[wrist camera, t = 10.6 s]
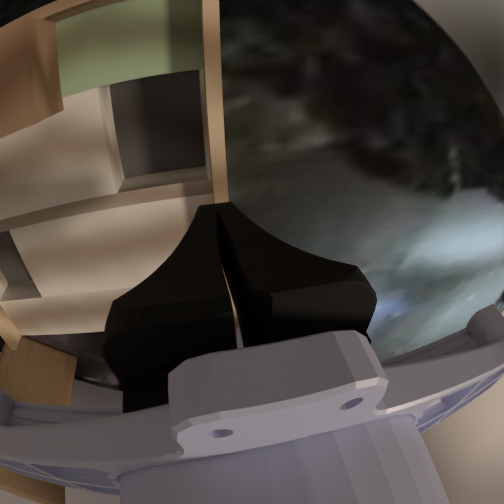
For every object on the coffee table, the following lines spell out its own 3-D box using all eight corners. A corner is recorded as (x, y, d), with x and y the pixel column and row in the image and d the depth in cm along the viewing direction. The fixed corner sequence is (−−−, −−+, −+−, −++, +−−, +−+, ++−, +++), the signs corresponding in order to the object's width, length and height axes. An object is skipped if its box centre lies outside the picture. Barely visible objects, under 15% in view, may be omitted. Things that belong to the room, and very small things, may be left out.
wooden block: (13, 364, 30) (-8, 485, 14) (9, 327, 26) (-25, 476, 10) (70, 386, 34) (63, 509, 19) (78, 355, 30) (65, 509, 14)
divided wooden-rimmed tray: (230, 293, 28) (238, 333, 24) (24, 315, 25) (11, 349, 21) (211, -11, 13) (218, -34, 9) (-59, 89, 9) (-95, 103, 6)
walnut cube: (64, 110, 13) (34, 124, 10) (-6, 136, 12) (-39, 157, 9) (55, 21, 10) (24, 15, 6) (-16, 57, 9) (-53, 64, 6)
